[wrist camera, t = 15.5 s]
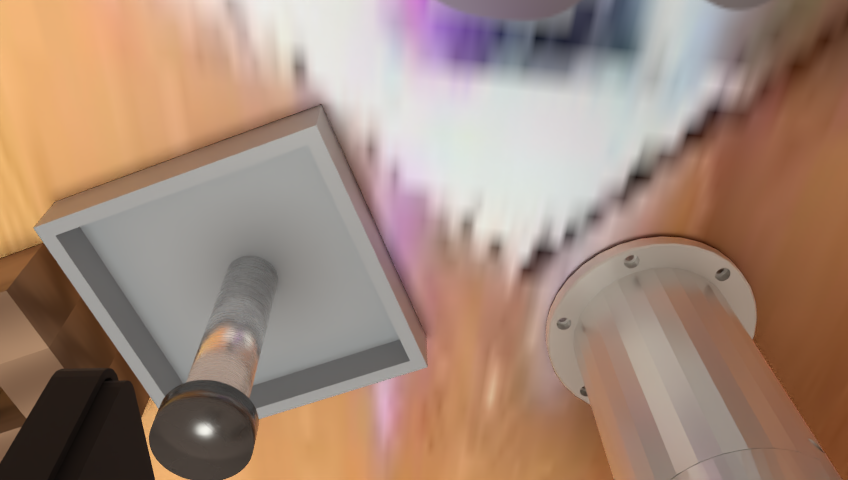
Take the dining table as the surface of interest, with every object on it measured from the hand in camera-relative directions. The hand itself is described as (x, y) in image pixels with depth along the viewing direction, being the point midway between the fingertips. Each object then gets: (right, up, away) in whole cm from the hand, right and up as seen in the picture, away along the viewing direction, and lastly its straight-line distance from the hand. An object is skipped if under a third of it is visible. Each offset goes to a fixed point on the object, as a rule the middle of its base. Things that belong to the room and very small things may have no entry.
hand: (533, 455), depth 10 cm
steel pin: (-11, 0, +37) cm, 39 cm away
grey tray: (-11, +1, +37) cm, 39 cm away
